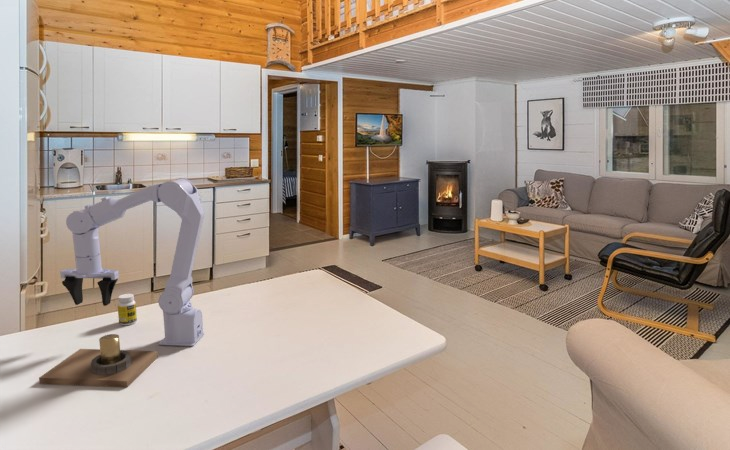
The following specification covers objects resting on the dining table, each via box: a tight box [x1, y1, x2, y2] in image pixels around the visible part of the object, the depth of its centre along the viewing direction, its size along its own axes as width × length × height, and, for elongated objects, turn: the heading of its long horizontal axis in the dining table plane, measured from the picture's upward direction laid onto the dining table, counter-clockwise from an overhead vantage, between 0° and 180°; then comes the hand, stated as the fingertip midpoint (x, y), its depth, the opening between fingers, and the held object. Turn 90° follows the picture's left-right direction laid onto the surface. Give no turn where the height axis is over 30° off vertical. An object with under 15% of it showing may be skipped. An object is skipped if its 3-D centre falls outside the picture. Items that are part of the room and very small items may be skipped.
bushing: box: [98, 333, 121, 365], centre depth 104 cm, size 4×4×7 cm
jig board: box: [38, 348, 159, 388], centre depth 106 cm, size 20×14×4 cm
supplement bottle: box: [117, 293, 138, 326], centre depth 132 cm, size 5×5×8 cm
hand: (92, 304), depth 120 cm, fingers open, 7 cm apart
